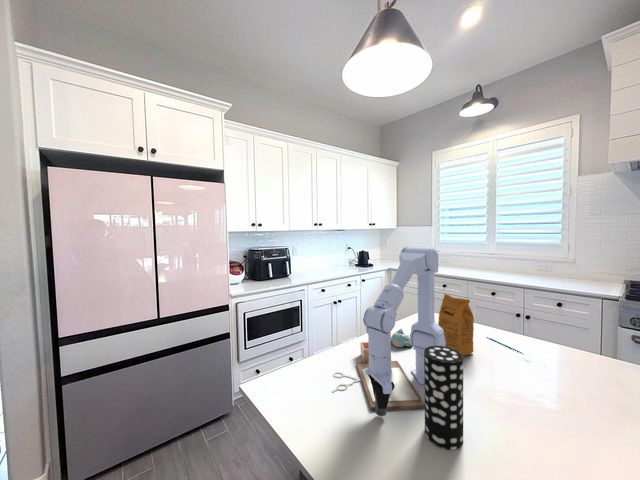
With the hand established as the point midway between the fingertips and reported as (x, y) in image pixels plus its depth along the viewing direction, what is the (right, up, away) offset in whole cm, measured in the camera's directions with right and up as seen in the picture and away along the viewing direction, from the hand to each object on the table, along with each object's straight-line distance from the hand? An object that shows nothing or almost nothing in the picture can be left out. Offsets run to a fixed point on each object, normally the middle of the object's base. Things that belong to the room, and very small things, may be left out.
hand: (380, 403), depth 69 cm
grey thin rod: (+60, -1, +39) cm, 71 cm away
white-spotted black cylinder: (+14, -4, -6) cm, 15 cm away
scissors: (-3, -4, +17) cm, 18 cm away
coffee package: (+38, -1, +36) cm, 53 cm away
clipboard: (+5, -3, +15) cm, 16 cm away
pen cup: (+3, -2, +31) cm, 31 cm away
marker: (0, -2, 0) cm, 2 cm away
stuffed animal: (+19, -2, +43) cm, 47 cm away
